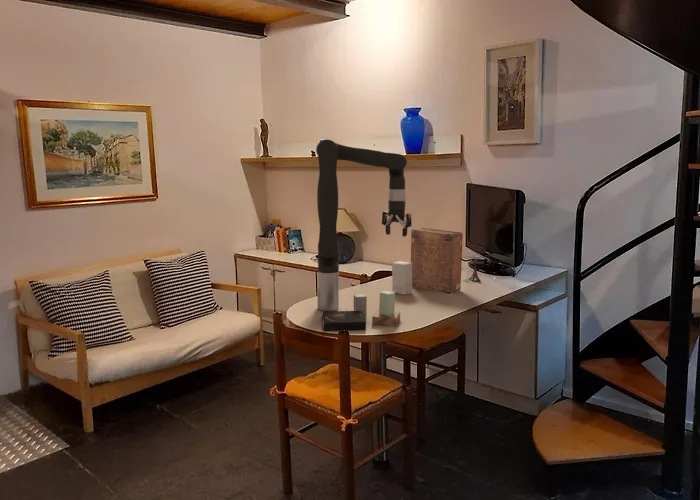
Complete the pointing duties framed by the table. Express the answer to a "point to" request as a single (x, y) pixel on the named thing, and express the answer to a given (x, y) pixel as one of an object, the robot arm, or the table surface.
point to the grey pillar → (360, 303)
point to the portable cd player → (343, 320)
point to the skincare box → (402, 277)
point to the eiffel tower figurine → (473, 276)
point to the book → (436, 259)
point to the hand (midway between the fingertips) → (396, 235)
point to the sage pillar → (387, 303)
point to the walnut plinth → (386, 319)
